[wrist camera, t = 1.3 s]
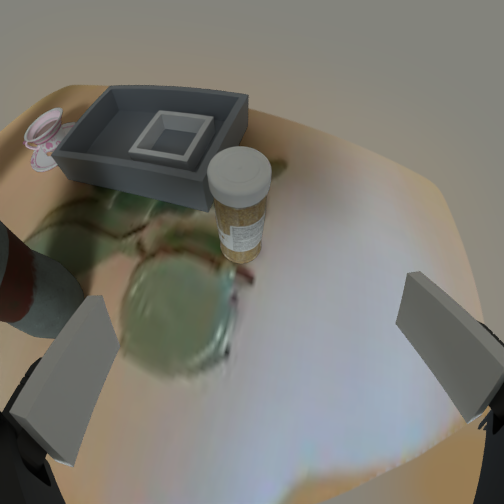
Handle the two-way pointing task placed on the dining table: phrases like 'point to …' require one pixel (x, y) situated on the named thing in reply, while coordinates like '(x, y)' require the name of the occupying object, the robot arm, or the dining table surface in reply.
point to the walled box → (154, 141)
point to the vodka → (34, 289)
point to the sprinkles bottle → (239, 200)
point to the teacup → (46, 138)
